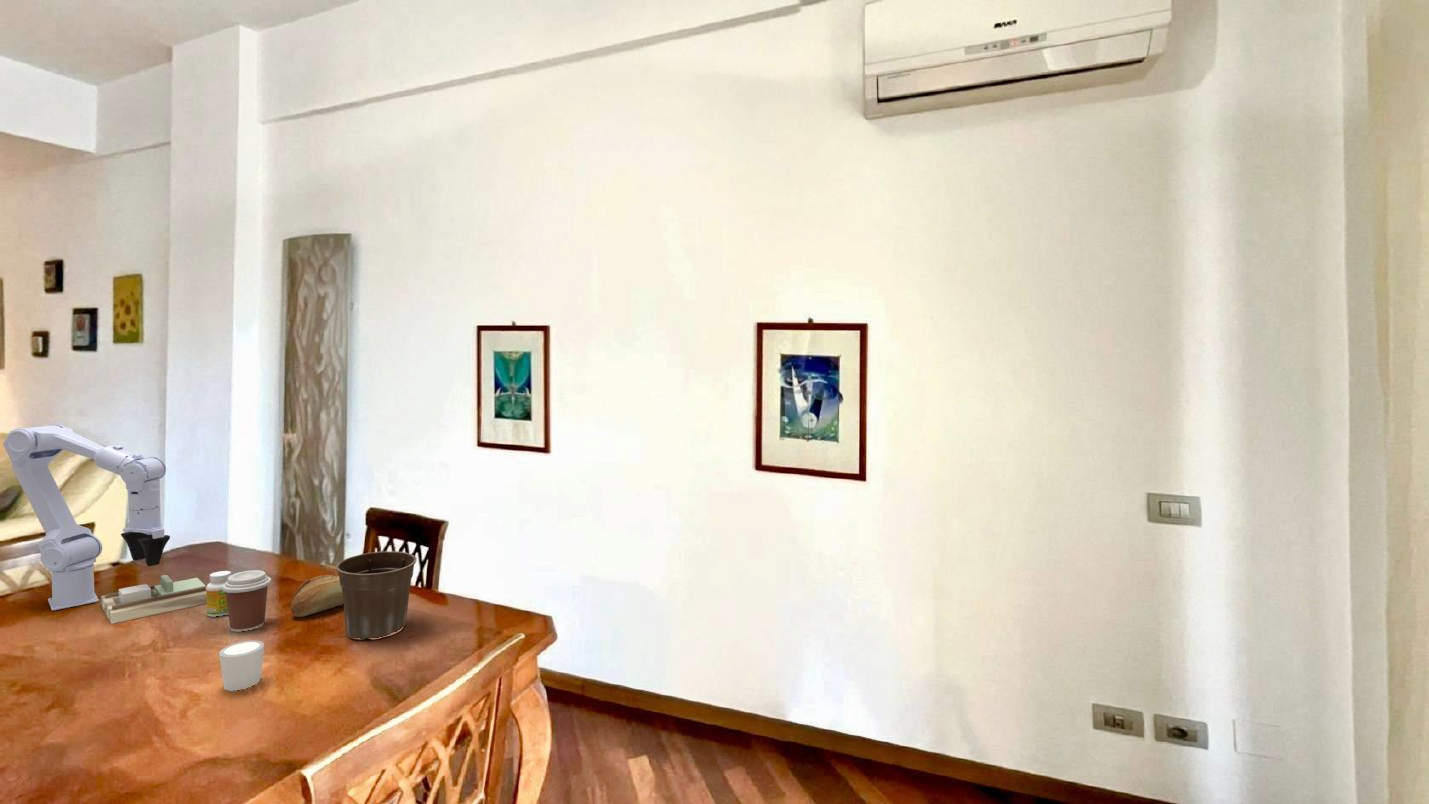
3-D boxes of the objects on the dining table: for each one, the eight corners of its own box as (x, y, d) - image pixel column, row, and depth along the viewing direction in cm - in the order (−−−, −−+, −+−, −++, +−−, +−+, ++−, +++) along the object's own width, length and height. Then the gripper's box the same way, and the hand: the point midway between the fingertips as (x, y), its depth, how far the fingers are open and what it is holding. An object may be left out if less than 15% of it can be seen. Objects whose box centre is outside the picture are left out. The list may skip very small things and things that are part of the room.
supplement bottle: (219, 618, 147) (218, 578, 146) (200, 616, 148) (200, 576, 147) (240, 609, 152) (240, 570, 151) (222, 607, 153) (222, 568, 152)
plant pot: (431, 624, 147) (432, 557, 146) (368, 652, 133) (368, 578, 132) (385, 611, 154) (385, 547, 153) (320, 636, 140) (319, 565, 139)
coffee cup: (232, 638, 137) (231, 585, 136) (215, 627, 142) (214, 576, 141) (279, 624, 145) (278, 573, 144) (261, 614, 150) (260, 565, 149)
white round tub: (235, 674, 122) (235, 639, 122) (272, 674, 123) (272, 639, 122) (210, 693, 115) (209, 656, 115) (249, 692, 116) (249, 656, 115)
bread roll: (279, 616, 149) (278, 584, 149) (338, 596, 163) (338, 566, 162) (305, 624, 145) (305, 591, 145) (363, 602, 159) (363, 572, 159)
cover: (154, 589, 156) (153, 576, 156) (197, 580, 163) (197, 568, 163) (161, 598, 151) (161, 584, 151) (205, 589, 158) (205, 576, 157)
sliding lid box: (101, 606, 151) (100, 592, 151) (195, 587, 165) (195, 574, 165) (111, 624, 142) (111, 609, 142) (210, 602, 156) (210, 589, 156)
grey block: (119, 609, 150) (118, 589, 150) (146, 603, 154) (146, 583, 154) (123, 615, 147) (122, 594, 147) (151, 609, 151) (150, 588, 151)
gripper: (110, 506, 152) (111, 561, 153) (137, 515, 145) (138, 572, 146) (146, 501, 158) (148, 554, 159) (174, 509, 152) (175, 564, 152)
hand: (146, 562), depth 153 cm, fingers open, 7 cm apart
